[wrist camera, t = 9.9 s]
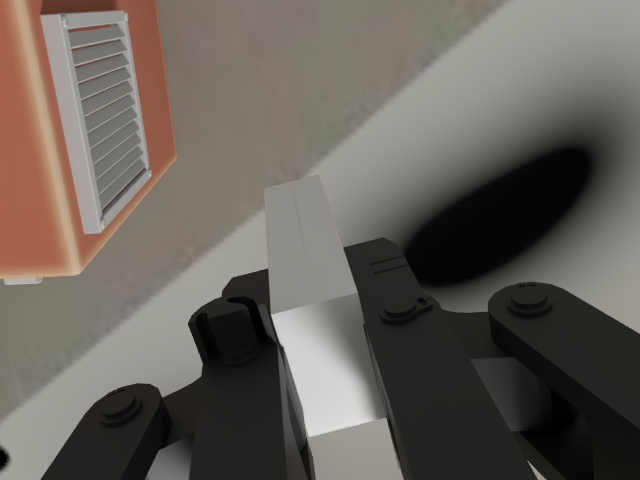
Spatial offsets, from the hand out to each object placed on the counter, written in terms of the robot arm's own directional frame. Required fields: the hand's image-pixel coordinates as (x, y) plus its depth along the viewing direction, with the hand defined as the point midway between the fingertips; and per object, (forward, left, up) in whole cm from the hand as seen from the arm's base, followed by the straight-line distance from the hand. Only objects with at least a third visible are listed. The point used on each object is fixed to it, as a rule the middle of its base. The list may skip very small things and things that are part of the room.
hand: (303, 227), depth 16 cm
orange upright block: (-13, +2, -31) cm, 33 cm away
